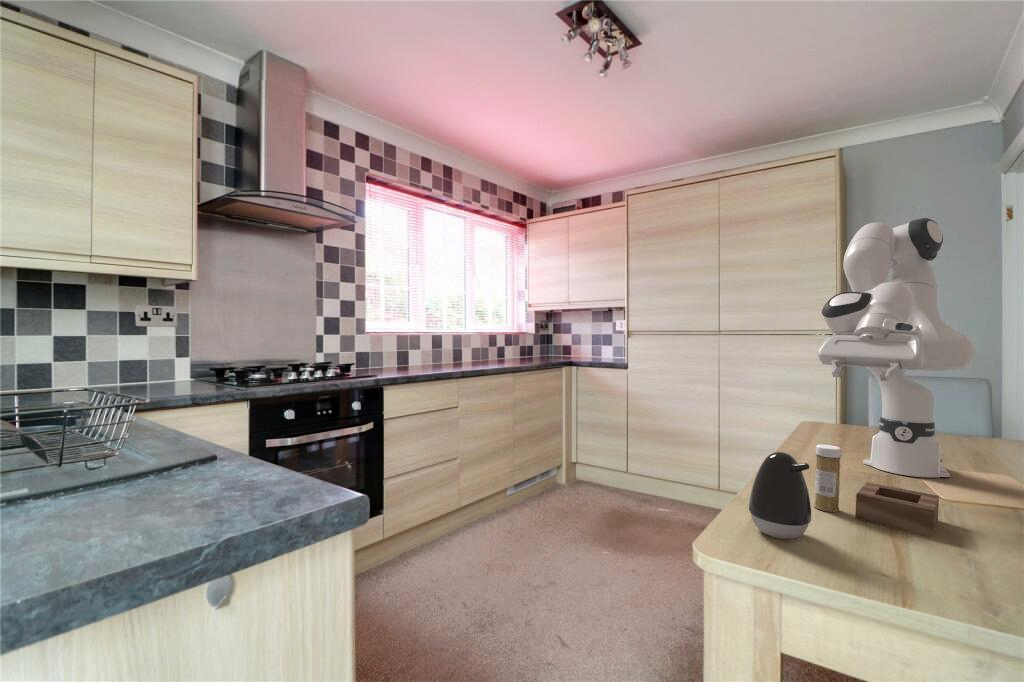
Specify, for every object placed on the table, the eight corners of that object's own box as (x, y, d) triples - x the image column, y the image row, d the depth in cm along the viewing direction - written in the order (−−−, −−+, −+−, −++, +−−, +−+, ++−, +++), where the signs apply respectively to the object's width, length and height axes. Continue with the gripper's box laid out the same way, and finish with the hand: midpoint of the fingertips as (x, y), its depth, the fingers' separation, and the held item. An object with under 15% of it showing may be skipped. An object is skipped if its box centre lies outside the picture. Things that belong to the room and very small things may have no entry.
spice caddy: (866, 504, 109) (866, 481, 109) (937, 520, 100) (938, 495, 100) (855, 518, 100) (856, 494, 100) (932, 537, 92) (934, 510, 92)
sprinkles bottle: (842, 510, 105) (845, 447, 104) (832, 514, 102) (835, 449, 102) (819, 503, 108) (822, 442, 108) (809, 507, 106) (811, 445, 106)
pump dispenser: (785, 549, 85) (788, 462, 84) (735, 527, 94) (738, 448, 94) (824, 540, 89) (828, 457, 88) (773, 519, 98) (776, 444, 98)
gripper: (825, 325, 125) (806, 364, 119) (927, 325, 108) (911, 371, 103) (831, 343, 128) (813, 382, 122) (933, 346, 111) (917, 391, 105)
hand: (859, 377), depth 112 cm, fingers open, 8 cm apart
